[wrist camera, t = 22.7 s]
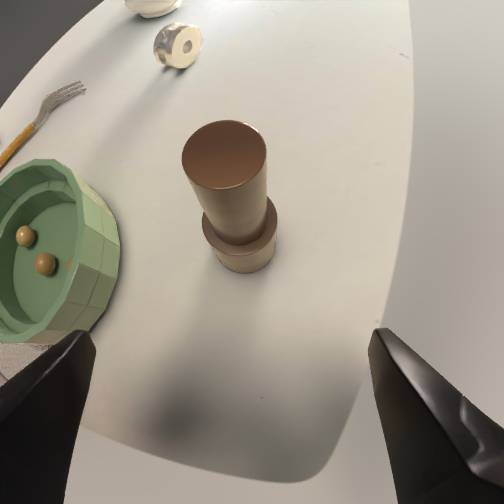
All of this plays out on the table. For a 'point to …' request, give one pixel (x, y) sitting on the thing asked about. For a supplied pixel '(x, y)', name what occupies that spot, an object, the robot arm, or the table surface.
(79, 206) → the bowl
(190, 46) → the metal grooved wheel
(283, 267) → the table surface
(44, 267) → the bead
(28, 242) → the bead
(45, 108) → the fork
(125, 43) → the table surface
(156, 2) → the flower vase
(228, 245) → the brown stepped cylinder
